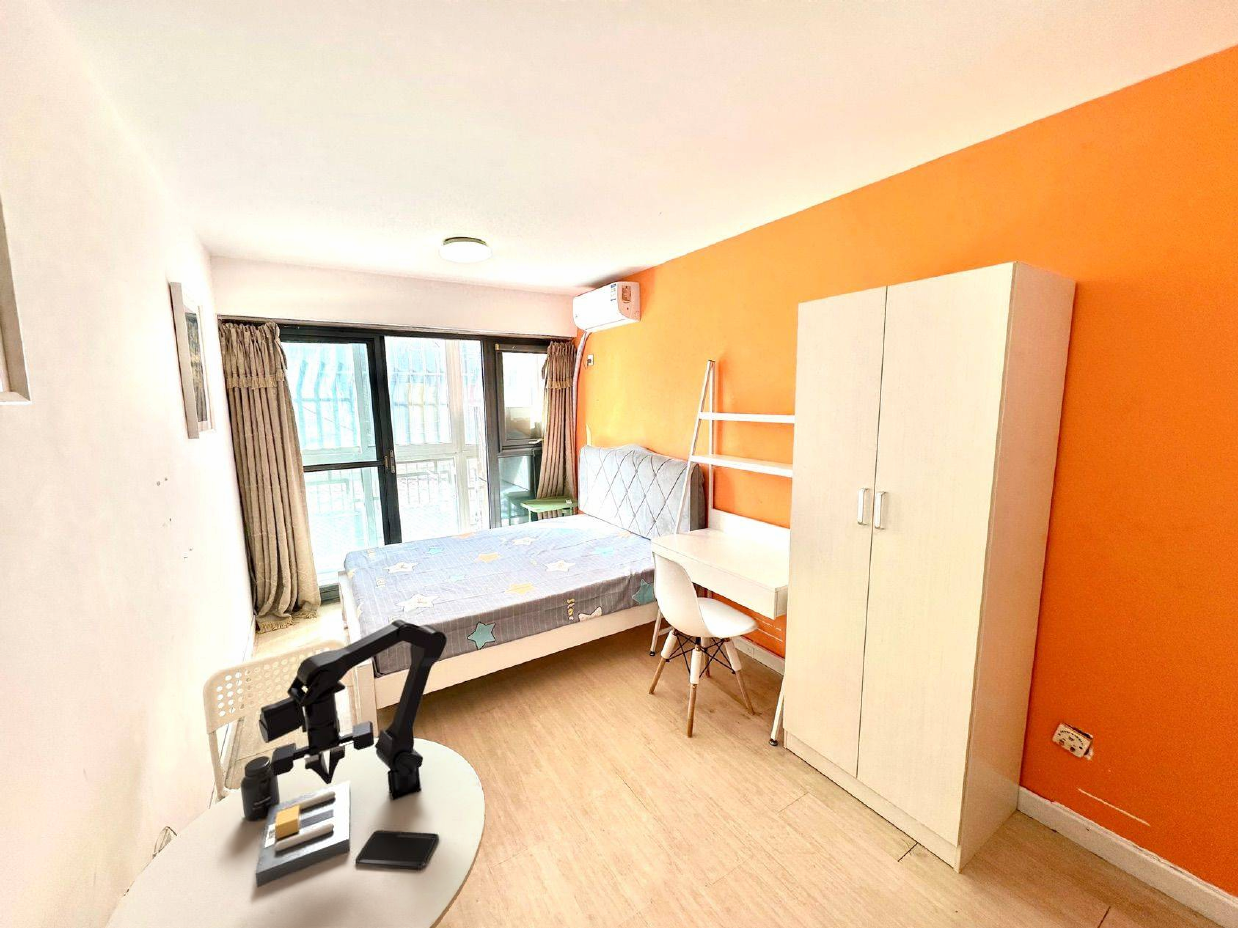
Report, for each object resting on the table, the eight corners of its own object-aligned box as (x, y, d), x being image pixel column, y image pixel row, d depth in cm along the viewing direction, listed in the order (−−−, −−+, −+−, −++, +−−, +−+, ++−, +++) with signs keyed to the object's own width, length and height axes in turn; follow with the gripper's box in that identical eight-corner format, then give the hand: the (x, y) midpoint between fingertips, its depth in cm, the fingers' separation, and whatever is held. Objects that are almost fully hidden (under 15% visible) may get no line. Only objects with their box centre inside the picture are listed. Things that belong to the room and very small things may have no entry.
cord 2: (336, 794, 116) (335, 787, 116) (335, 798, 114) (335, 792, 114) (281, 812, 111) (280, 806, 111) (280, 817, 110) (279, 811, 109)
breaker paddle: (300, 816, 109) (299, 804, 109) (299, 830, 106) (297, 818, 105) (279, 824, 108) (277, 812, 107) (276, 838, 104) (274, 826, 104)
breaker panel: (350, 791, 120) (349, 780, 120) (350, 850, 105) (348, 837, 104) (270, 818, 113) (269, 806, 112) (257, 886, 97) (255, 873, 97)
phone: (423, 867, 100) (352, 862, 101) (423, 872, 100) (353, 867, 101) (440, 833, 107) (375, 828, 109) (441, 837, 108) (375, 833, 109)
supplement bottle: (262, 824, 111) (255, 776, 110) (236, 820, 113) (229, 772, 111) (287, 800, 118) (281, 754, 116) (263, 796, 120) (257, 750, 118)
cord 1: (334, 826, 107) (333, 819, 107) (334, 831, 106) (333, 825, 105) (275, 847, 102) (274, 841, 102) (274, 854, 101) (273, 847, 101)
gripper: (369, 684, 117) (375, 744, 119) (273, 709, 108) (282, 773, 110) (370, 710, 107) (377, 775, 109) (265, 739, 98) (275, 810, 101)
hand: (329, 782), depth 108 cm, fingers closed
